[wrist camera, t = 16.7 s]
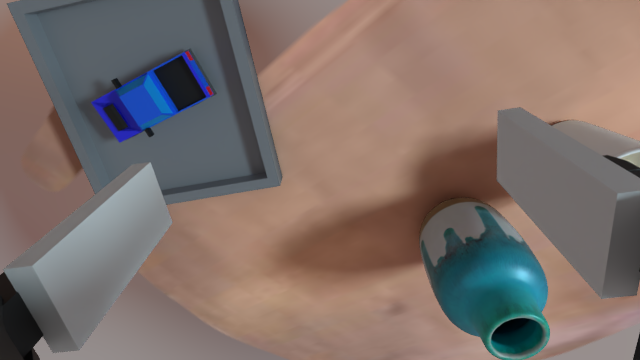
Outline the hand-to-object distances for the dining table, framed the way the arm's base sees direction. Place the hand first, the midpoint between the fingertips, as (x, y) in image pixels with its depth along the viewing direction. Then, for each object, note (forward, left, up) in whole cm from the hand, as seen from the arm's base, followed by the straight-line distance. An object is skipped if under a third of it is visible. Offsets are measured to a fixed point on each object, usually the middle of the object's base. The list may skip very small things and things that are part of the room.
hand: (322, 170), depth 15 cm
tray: (0, -19, -31) cm, 36 cm away
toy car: (0, -19, -30) cm, 36 cm away
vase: (+22, +12, -31) cm, 40 cm away
